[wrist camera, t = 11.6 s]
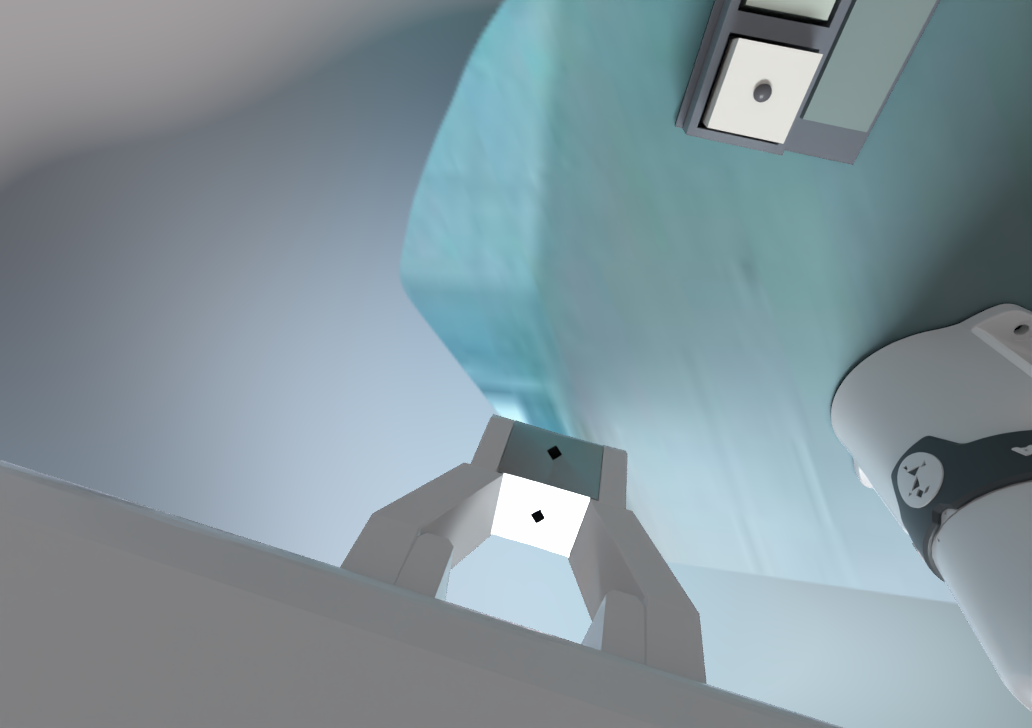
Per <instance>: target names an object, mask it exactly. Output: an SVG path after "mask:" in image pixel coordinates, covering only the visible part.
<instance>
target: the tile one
mask: <svg viewBox="0 0 1032 728" xmlns="http://www.w3.org/2000/svg"><path fill="white" fill-rule="evenodd" d="M822 56H823V54H819V53H813V52H808V51H803V50H798V49H793V48H788V47H783V46H778V45H772V44H767V43H762V42H757V41H752V40H747V39H742V38H737V39H732V40H729V43H728V46H727V49H726V52H725V55H724V57H723V60H722V63H721V66H720V69H719V72H718V75H717V78H716V80H715V83H714V86H713V89H712V92H711V95H710V98H709V101H708V104H707V106H706V109H705V112H704V115H703V118H702V122H703V123H704V125H705V126H706V127H707V128H712V129H717V130H721V131H726V132H731V133H735V134H740V135H745V136H749V137H754V138H759V139H763V140H768V141H773V142H777V143H782V144H784V141H785V139H786V137H787V135H788V132H789V130H790V128H791V126H792V123H793V121H794V119H795V117H796V114H797V112H798V110H799V108H800V105H801V103H802V101H803V99H804V96H805V94H806V92H807V90H808V87H809V85H810V83H811V81H812V78H813V76H814V74H815V72H816V69H817V67H818V65H819V63H820V60H821V58H822Z"/></svg>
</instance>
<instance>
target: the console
mask: <svg viewBox="0 0 1032 728" xmlns="http://www.w3.org/2000/svg"><path fill="white" fill-rule="evenodd" d="M740 2H741V0H715V2H714V5H713V9H712V12H711V15H710V18H709V21H708V24H707V27H706V30H705V33H704V37H703V40H702V43H701V46H700V49H699V52H698V55H697V58H696V62H695V65H694V68H693V71H692V74H691V77H690V80H689V83H688V86H687V90H686V93H685V96H684V99H683V102H682V105H681V108H680V111H679V115H678V118H677V121H676V124H675V127H679V128H683V130H684V132H685V134H686V135H690V136H695V137H699V138H704V139H708V140H713V141H718V142H722V143H727V144H732V145H736V146H741V147H745V148H750V149H755V150H759V151H764V152H769V153H773V154H778V155H783V153H784V150H787V151H791V152H796V153H801V154H805V155H810V156H814V157H819V158H824V159H828V160H833V161H838V162H842V163H847V164H852V165H853V164H854V162H855V160H856V158H857V156H858V154H859V152H860V150H861V149H862V147H863V145H864V143H865V141H866V139H867V137H868V135H869V134H870V132H871V130H872V128H873V126H874V124H875V122H876V120H877V118H878V117H879V115H880V113H881V111H882V109H883V107H884V105H885V103H886V102H887V100H888V98H889V96H890V94H891V92H892V90H893V88H894V87H895V85H896V83H897V81H898V79H899V77H900V75H901V73H902V72H903V70H904V68H905V66H906V64H907V62H908V60H909V58H910V56H911V55H912V53H913V51H914V49H915V47H916V45H917V43H918V41H919V40H920V38H921V36H922V34H923V32H924V30H925V28H926V26H927V25H928V23H929V21H930V19H931V17H932V15H933V13H934V11H935V10H936V8H937V6H938V4H939V2H940V0H836V1H835V3H834V6H833V8H832V10H831V13H830V15H829V17H828V19H827V20H825V21H821V22H816V23H811V24H806V23H801V22H796V21H791V20H785V19H780V18H775V17H770V16H764V15H759V14H754V13H749V12H743V11H738V7H739V5H740ZM737 38H742V39H747V40H752V41H757V42H762V43H767V44H772V45H778V46H783V47H788V48H793V49H798V50H803V51H808V52H813V53H819V54H823V56H822V58H821V60H820V63H819V65H818V67H817V69H816V72H815V74H814V76H813V78H812V81H811V83H810V85H809V87H808V90H807V92H806V94H805V96H804V99H803V101H802V103H801V105H800V108H799V110H798V112H797V114H796V117H795V119H794V121H793V123H792V126H791V128H790V130H789V132H788V135H787V137H786V139H785V141H784V144H782V143H777V142H773V141H768V140H763V139H759V138H754V137H749V136H745V135H740V134H735V133H731V132H726V131H721V130H717V129H712V128H707V127H706V126H705V125H704V123H703V122H702V118H703V115H704V112H705V109H706V106H707V104H708V101H709V98H710V95H711V92H712V89H713V86H714V83H715V80H716V78H717V75H718V72H719V69H720V66H721V63H722V60H723V57H724V55H725V52H726V49H727V46H728V43H729V40H732V39H737Z"/></svg>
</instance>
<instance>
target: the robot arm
mask: <svg viewBox="0 0 1032 728" xmlns="http://www.w3.org/2000/svg"><path fill="white" fill-rule="evenodd" d="M1020 325H1022V327H1021V328H1019V329H1018V330H1015V328H1016V327H1018V326H1020ZM1014 330H1015V331H1014ZM831 421H832V426H833V429H834V432H835V434H836V436H837V438H838V439H839V441H840V442H841V443H842V444H843V445H844V447H845V448H846V449H847V450H848V451H849V452H850V454H851V455H852V457H853V461H854V469H855V473H856V475H857V477H858V478H859V480H860V481H861V482H862V484H863V485H865V486H866V487H869V488H874V489H875V491H876V492H877V493H878V495H879V496H880V498H881V499H882V501H883V502H884V503H885V505H886V506H887V508H888V509H889V510H890V512H891V513H892V515H893V516H894V517H895V519H896V520H897V521H898V523H899V524H900V526H901V527H902V528H903V530H904V531H905V532H906V533H907V534H909V535H910V537H911V539H912V541H913V543H912V544H913V546H914V547H915V549H916V551H917V552H918V554H919V555H920V557H921V558H922V559H923V560H924V561H925V562H926V564H927V565H928V567H929V568H930V569H931V571H932V572H933V573H934V574H935V575H936V576H937V577H938V578H940V579H941V580H942V581H944V582H945V583H946V584H947V586H948V588H949V589H950V591H951V593H952V595H953V596H954V598H955V600H956V602H957V603H958V605H959V607H960V608H961V610H962V612H963V614H964V615H965V617H966V619H967V620H968V622H969V624H970V626H971V627H972V629H973V631H974V633H975V634H976V636H977V638H978V640H979V641H980V643H981V645H982V647H983V648H984V650H985V652H986V653H987V655H988V657H989V658H990V660H991V662H992V664H993V665H994V667H995V669H996V671H997V672H998V674H999V676H1000V678H1001V679H1002V681H1003V683H1004V684H1005V685H1006V687H1007V688H1008V689H1009V690H1010V692H1011V693H1012V694H1013V695H1014V696H1015V697H1016V698H1017V699H1018V700H1019V701H1020V702H1021V703H1022V704H1023V705H1024V706H1025V707H1026V708H1028V709H1029V710H1030V711H1031V712H1032V312H1031V311H1029V310H1027V309H1025V308H1022V307H1020V306H1018V305H1015V304H1001V305H997V306H994V307H992V308H989V309H987V310H985V311H983V312H980V313H978V314H976V315H974V316H972V317H970V318H969V319H967V320H965V321H963V322H961V323H959V324H956V325H953V326H949V327H946V328H941V329H937V330H932V331H927V332H923V333H919V334H916V335H912V336H909V337H907V338H904V339H901V340H899V341H896V342H894V343H892V344H890V345H888V346H886V347H884V348H882V349H880V350H878V351H877V352H875V353H874V354H872V355H870V356H869V357H868V358H866V359H865V360H864V361H862V362H861V363H860V364H859V365H858V366H857V367H855V368H854V369H853V370H852V371H851V372H850V373H849V375H848V376H847V377H846V378H845V380H844V381H843V382H842V384H841V385H840V387H839V389H838V391H837V392H836V395H835V397H834V400H833V403H832V409H831ZM626 483H627V453H626V451H624V450H620V449H616V448H612V447H608V446H605V445H603V446H602V445H599V444H595V443H592V442H588V441H584V440H581V439H577V438H573V437H569V436H566V435H562V434H559V433H555V432H552V431H549V430H545V429H542V428H539V427H535V426H532V425H529V424H525V423H522V422H519V421H514V420H511V419H508V418H504V417H501V416H498V415H493V416H492V417H491V418H490V420H489V422H488V425H487V427H486V429H485V432H484V434H483V436H482V439H481V441H480V443H479V446H478V448H477V451H476V453H475V455H474V458H473V460H472V462H471V464H467V463H462V464H461V465H459V466H457V467H455V468H453V469H452V470H450V471H448V472H446V473H444V474H443V475H441V476H439V477H438V478H436V479H434V480H432V481H430V482H428V483H427V484H425V485H423V486H421V487H419V488H418V489H416V490H414V491H412V492H410V493H409V494H407V495H405V496H403V497H402V498H400V499H398V500H396V501H394V502H393V503H391V504H389V505H387V506H385V507H384V508H382V509H380V510H378V511H376V512H375V513H373V514H372V515H371V517H370V519H369V520H368V522H367V524H366V525H365V527H364V529H363V530H362V532H361V534H360V535H359V537H358V539H357V540H356V542H355V544H354V545H353V547H352V549H351V550H350V552H349V553H348V555H347V557H346V559H345V560H344V562H343V564H342V565H341V567H340V568H339V567H336V566H333V565H330V564H327V563H324V562H320V561H317V560H314V559H311V558H307V557H304V556H301V555H298V554H295V553H292V552H289V551H286V550H282V549H279V548H276V547H273V546H270V545H266V544H264V543H261V542H257V541H254V540H251V539H248V538H245V537H241V536H238V535H235V534H232V533H229V532H225V531H223V530H220V529H216V528H213V527H210V526H207V525H204V524H200V523H198V522H194V521H191V520H188V519H185V518H182V517H179V516H175V515H172V514H169V513H166V512H163V511H159V510H156V509H153V508H150V507H147V506H144V505H141V504H138V503H134V502H131V501H128V500H125V499H122V498H119V497H116V496H112V495H109V494H106V493H103V492H100V491H97V490H94V489H90V488H87V487H84V486H81V485H78V484H74V483H72V482H68V481H65V480H62V479H59V478H56V477H53V476H50V475H46V474H43V473H40V472H36V471H33V470H31V469H27V468H24V467H21V466H18V465H14V464H12V463H9V462H5V461H2V460H0V728H843V727H840V726H837V725H834V724H830V723H828V722H824V721H821V720H818V719H815V718H812V717H809V716H806V715H802V714H799V713H796V712H793V711H790V710H787V709H784V708H780V707H777V706H774V705H771V704H768V703H765V702H761V701H758V700H755V699H752V698H749V697H745V696H743V695H739V694H736V693H733V692H730V691H727V690H724V689H721V688H717V687H714V686H711V685H708V684H706V675H705V666H704V656H703V645H702V635H701V625H700V616H699V613H698V611H697V610H696V608H695V607H694V605H693V603H692V602H691V600H690V599H689V597H688V596H687V594H686V593H685V591H684V590H683V588H682V587H681V585H680V583H679V582H678V581H677V579H676V577H675V576H674V574H673V573H672V571H671V570H670V568H669V567H668V565H667V563H666V562H665V560H664V559H663V557H662V556H661V554H660V553H659V551H658V550H657V548H656V547H655V545H654V543H653V542H652V540H651V539H650V537H649V536H648V534H647V533H646V531H645V530H644V528H643V527H642V525H641V523H640V522H639V520H638V519H637V517H636V516H635V514H634V513H633V511H630V510H627V509H626ZM491 534H495V535H499V536H502V537H506V538H509V539H513V540H517V541H521V542H524V543H528V544H531V545H534V546H537V547H540V548H543V549H546V550H549V551H552V552H555V553H558V554H561V555H565V556H567V557H569V558H568V560H569V563H570V565H571V568H572V570H573V573H574V575H575V578H576V581H577V583H578V586H579V589H580V591H581V594H582V597H583V599H584V602H585V604H586V607H587V610H588V612H589V615H590V617H591V620H592V624H591V625H590V628H589V630H588V632H587V634H586V636H585V638H584V640H583V642H582V644H578V643H574V642H572V641H569V640H566V639H562V638H559V637H556V636H553V635H550V634H547V633H544V632H540V631H537V630H534V629H531V628H528V627H524V626H522V625H518V624H515V623H512V622H509V621H506V620H503V619H499V618H496V617H493V616H490V615H487V614H484V613H481V612H477V611H474V610H471V609H468V608H465V607H462V606H459V605H455V604H453V603H449V602H446V601H445V600H446V593H447V586H448V580H449V574H450V570H451V569H452V568H453V567H454V566H455V565H457V564H458V563H459V562H460V561H461V560H463V559H464V558H465V557H466V556H467V555H469V554H470V553H471V552H472V551H473V550H474V549H476V547H478V546H479V545H480V544H481V543H483V542H484V541H485V540H486V539H487V538H488V537H490V535H491Z"/></svg>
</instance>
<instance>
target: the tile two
mask: <svg viewBox="0 0 1032 728" xmlns="http://www.w3.org/2000/svg"><path fill="white" fill-rule="evenodd" d="M835 1H836V0H741V2H740V5H739V7H738V11H743V12H749V13H754V14H759V15H764V16H770V17H775V18H780V19H785V20H791V21H796V22H801V23H806V24H811V23H816V22H821V21H825V20H827V19H828V17H829V15H830V13H831V10H832V8H833V6H834V3H835Z"/></svg>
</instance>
